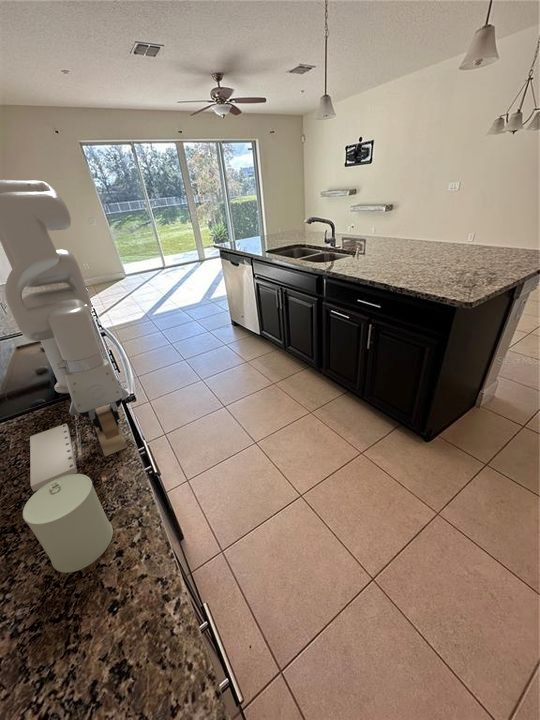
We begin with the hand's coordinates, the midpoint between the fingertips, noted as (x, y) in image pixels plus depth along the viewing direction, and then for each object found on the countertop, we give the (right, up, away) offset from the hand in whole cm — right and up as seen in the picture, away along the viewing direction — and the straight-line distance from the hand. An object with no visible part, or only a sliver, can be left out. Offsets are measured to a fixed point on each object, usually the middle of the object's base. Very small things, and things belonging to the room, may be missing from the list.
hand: (108, 424), depth 77 cm
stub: (0, -2, +1) cm, 2 cm away
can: (+10, -15, -26) cm, 31 cm away
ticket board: (-10, -6, -5) cm, 13 cm away
